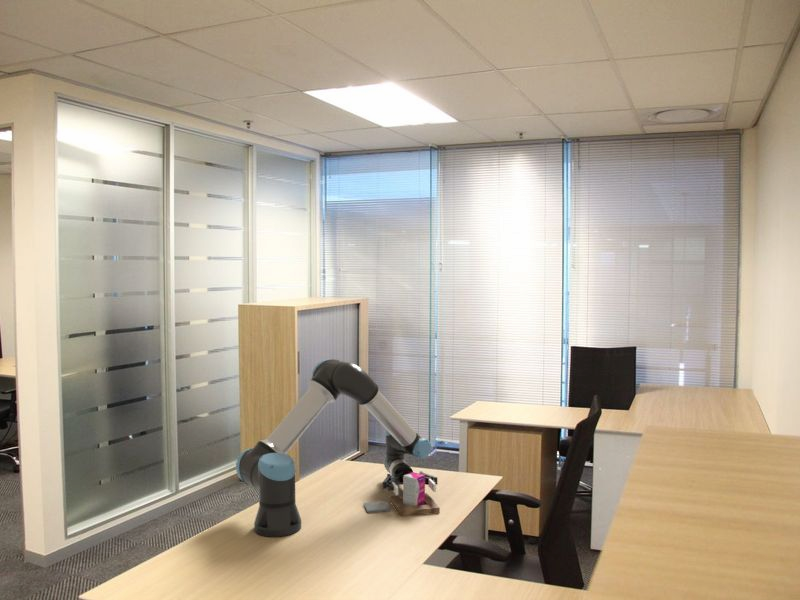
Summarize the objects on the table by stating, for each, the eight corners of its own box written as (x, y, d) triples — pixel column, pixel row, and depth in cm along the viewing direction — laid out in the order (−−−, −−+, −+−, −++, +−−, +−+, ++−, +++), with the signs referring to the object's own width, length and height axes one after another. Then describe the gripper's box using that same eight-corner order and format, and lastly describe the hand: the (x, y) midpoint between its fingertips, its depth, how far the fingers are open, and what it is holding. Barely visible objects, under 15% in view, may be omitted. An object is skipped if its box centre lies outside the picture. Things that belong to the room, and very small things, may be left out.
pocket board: (400, 516, 237) (400, 511, 237) (389, 501, 252) (389, 496, 252) (439, 512, 240) (439, 507, 240) (426, 497, 256) (426, 492, 255)
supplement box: (416, 511, 242) (415, 478, 241) (402, 507, 246) (402, 475, 245) (425, 506, 247) (425, 474, 246) (412, 502, 250) (411, 471, 250)
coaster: (367, 513, 240) (367, 510, 240) (363, 505, 248) (363, 503, 248) (390, 511, 242) (390, 508, 242) (385, 503, 250) (385, 501, 250)
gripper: (433, 479, 267) (450, 497, 247) (369, 484, 261) (381, 503, 241) (432, 460, 267) (450, 476, 246) (369, 464, 261) (381, 482, 240)
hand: (416, 489), depth 243 cm, fingers open, 13 cm apart
